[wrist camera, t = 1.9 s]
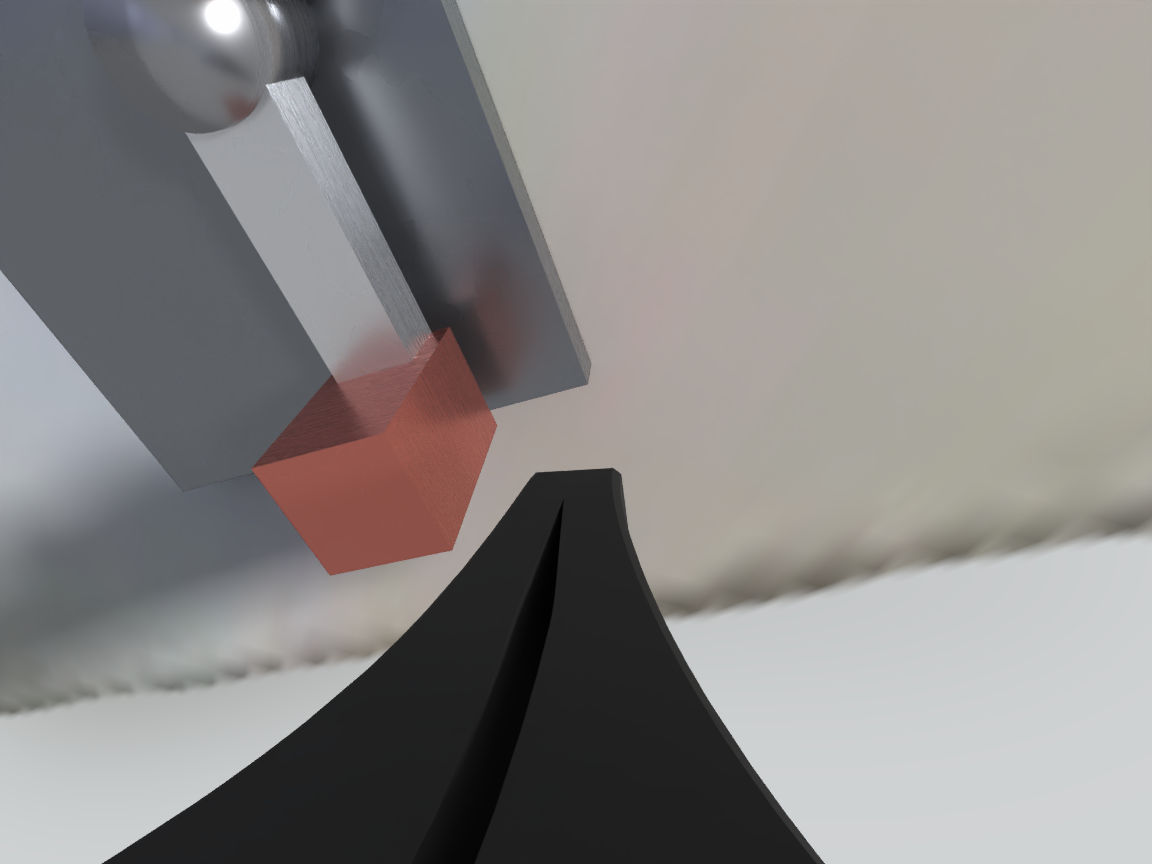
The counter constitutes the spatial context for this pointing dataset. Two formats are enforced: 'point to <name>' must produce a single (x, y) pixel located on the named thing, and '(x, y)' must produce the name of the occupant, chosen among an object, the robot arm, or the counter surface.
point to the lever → (313, 276)
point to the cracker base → (225, 252)
